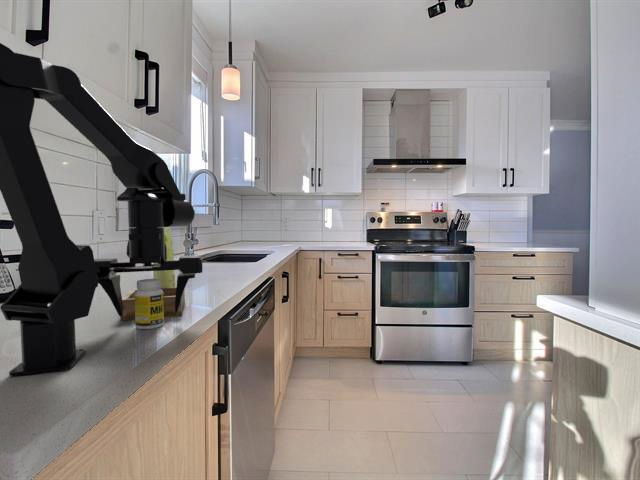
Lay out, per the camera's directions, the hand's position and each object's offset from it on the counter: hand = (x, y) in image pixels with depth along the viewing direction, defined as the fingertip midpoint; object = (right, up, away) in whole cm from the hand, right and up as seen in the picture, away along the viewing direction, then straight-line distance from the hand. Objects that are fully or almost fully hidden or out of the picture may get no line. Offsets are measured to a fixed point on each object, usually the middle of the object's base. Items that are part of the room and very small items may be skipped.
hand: (149, 313), depth 64 cm
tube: (-6, -2, +20) cm, 21 cm away
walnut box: (-4, -2, +10) cm, 11 cm away
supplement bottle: (0, -3, 0) cm, 3 cm away
